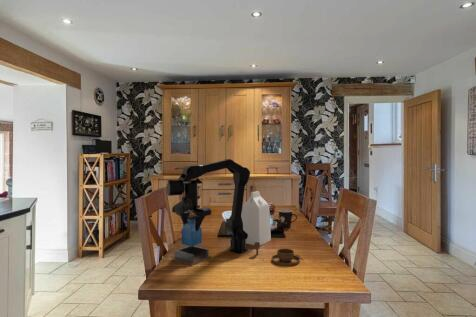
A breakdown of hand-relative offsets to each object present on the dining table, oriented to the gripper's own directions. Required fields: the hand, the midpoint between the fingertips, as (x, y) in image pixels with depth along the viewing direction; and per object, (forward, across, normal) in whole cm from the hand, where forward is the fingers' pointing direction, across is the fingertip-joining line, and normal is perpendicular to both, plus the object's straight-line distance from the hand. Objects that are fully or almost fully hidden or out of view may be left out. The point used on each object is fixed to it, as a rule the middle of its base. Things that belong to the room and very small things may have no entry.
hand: (191, 229), depth 135 cm
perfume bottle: (+6, 0, 0) cm, 6 cm away
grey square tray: (+13, 0, 0) cm, 13 cm away
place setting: (+14, +31, +23) cm, 41 cm away
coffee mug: (+13, +7, +76) cm, 77 cm away
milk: (+13, +8, +39) cm, 42 cm away
